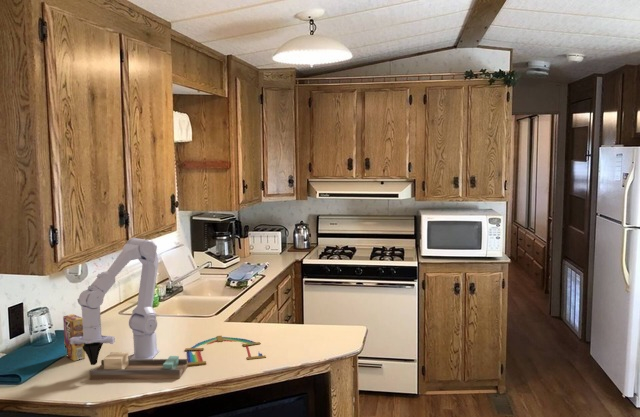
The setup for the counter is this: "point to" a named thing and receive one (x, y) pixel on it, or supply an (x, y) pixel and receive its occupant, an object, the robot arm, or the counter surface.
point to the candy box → (73, 329)
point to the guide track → (144, 369)
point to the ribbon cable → (196, 358)
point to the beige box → (116, 360)
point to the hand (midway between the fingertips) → (93, 363)
